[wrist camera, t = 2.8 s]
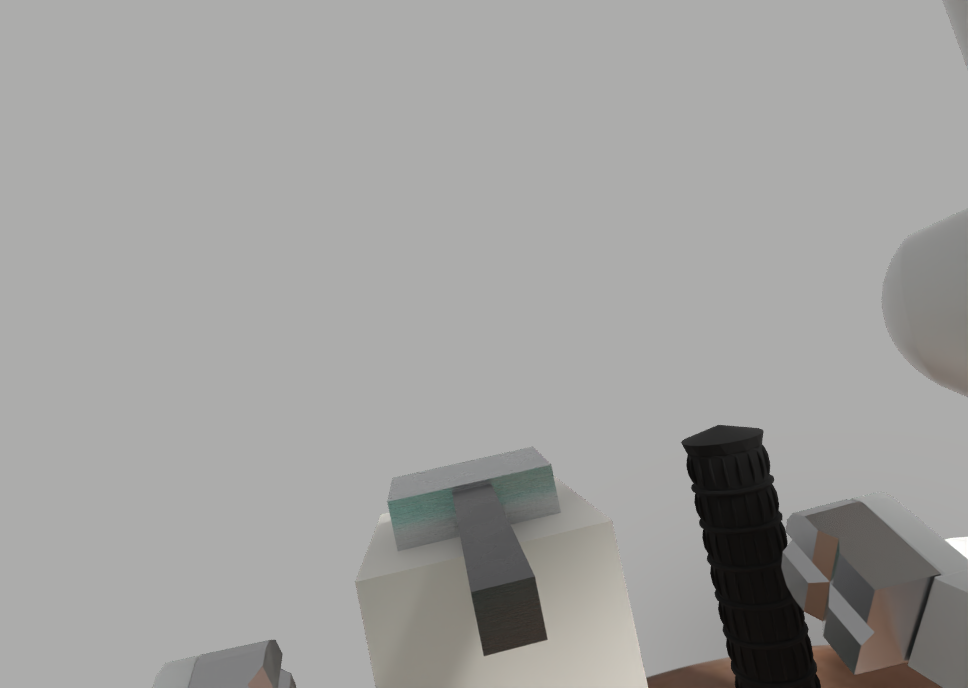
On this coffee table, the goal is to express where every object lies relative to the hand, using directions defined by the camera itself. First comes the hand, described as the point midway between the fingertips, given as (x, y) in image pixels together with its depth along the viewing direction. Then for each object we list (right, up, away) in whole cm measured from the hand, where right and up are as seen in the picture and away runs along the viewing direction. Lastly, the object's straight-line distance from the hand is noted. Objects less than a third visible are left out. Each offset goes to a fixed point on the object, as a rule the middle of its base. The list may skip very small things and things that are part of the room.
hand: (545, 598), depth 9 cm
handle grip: (+25, -29, +42) cm, 57 cm away
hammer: (-1, -7, +22) cm, 24 cm away
